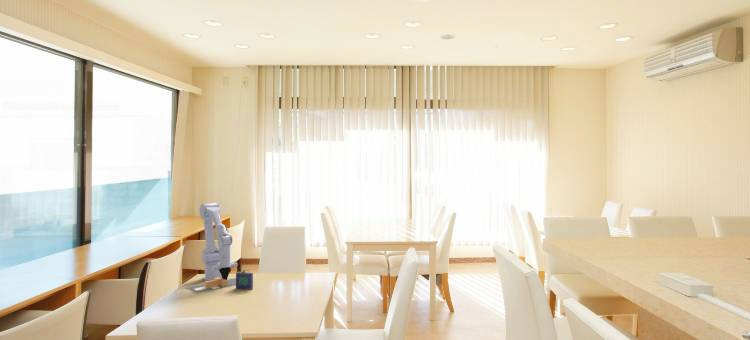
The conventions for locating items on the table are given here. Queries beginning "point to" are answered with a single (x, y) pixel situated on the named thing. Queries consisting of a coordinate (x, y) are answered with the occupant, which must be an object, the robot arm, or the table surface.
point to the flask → (244, 280)
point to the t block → (216, 282)
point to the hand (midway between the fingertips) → (224, 281)
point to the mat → (203, 289)
